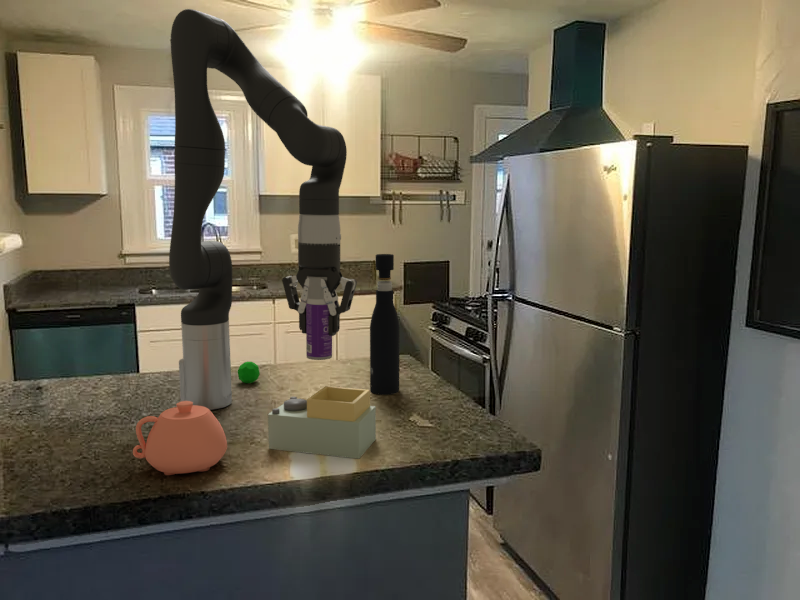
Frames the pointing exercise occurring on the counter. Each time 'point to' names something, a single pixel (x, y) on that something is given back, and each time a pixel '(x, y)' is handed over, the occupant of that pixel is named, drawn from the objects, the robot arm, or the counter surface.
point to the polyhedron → (248, 372)
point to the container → (317, 322)
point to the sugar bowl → (182, 439)
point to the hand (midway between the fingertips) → (319, 333)
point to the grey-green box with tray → (325, 423)
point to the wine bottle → (384, 333)
